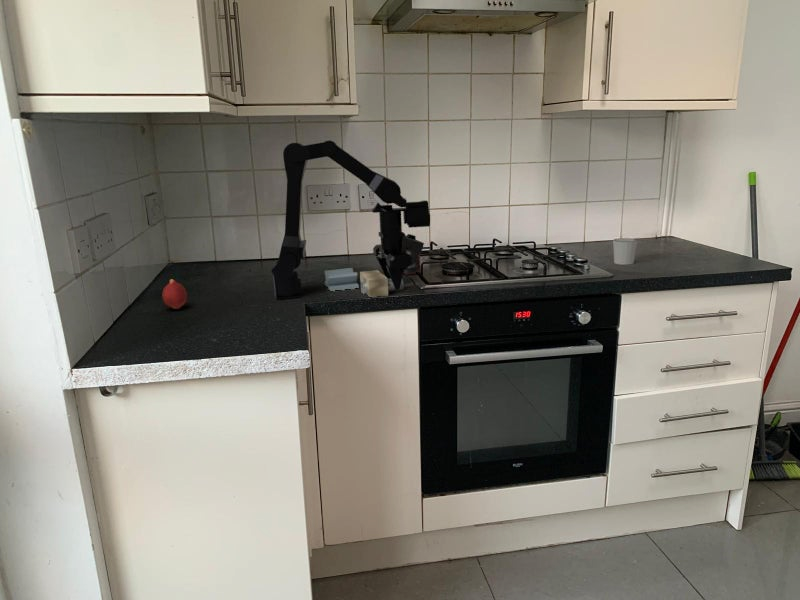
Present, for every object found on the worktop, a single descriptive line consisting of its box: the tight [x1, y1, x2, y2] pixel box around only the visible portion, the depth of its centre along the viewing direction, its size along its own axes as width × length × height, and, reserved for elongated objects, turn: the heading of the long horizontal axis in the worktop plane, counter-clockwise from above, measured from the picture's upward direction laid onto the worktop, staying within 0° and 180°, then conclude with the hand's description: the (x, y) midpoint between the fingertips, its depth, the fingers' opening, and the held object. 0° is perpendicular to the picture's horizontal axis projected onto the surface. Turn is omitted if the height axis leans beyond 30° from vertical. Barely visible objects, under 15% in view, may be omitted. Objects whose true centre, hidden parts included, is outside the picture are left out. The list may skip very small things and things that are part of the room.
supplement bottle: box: [400, 234, 421, 276], centre depth 176 cm, size 6×6×11 cm
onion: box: [161, 279, 188, 310], centre depth 149 cm, size 6×6×8 cm
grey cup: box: [612, 237, 638, 266], centre depth 178 cm, size 7×7×7 cm
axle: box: [360, 278, 404, 295], centre depth 158 cm, size 11×4×4 cm, turn 106°
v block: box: [323, 267, 360, 292], centre depth 165 cm, size 8×9×4 cm
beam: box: [359, 269, 389, 298], centre depth 157 cm, size 5×10×5 cm, turn 16°
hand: (393, 286), depth 159 cm, fingers open, 7 cm apart
